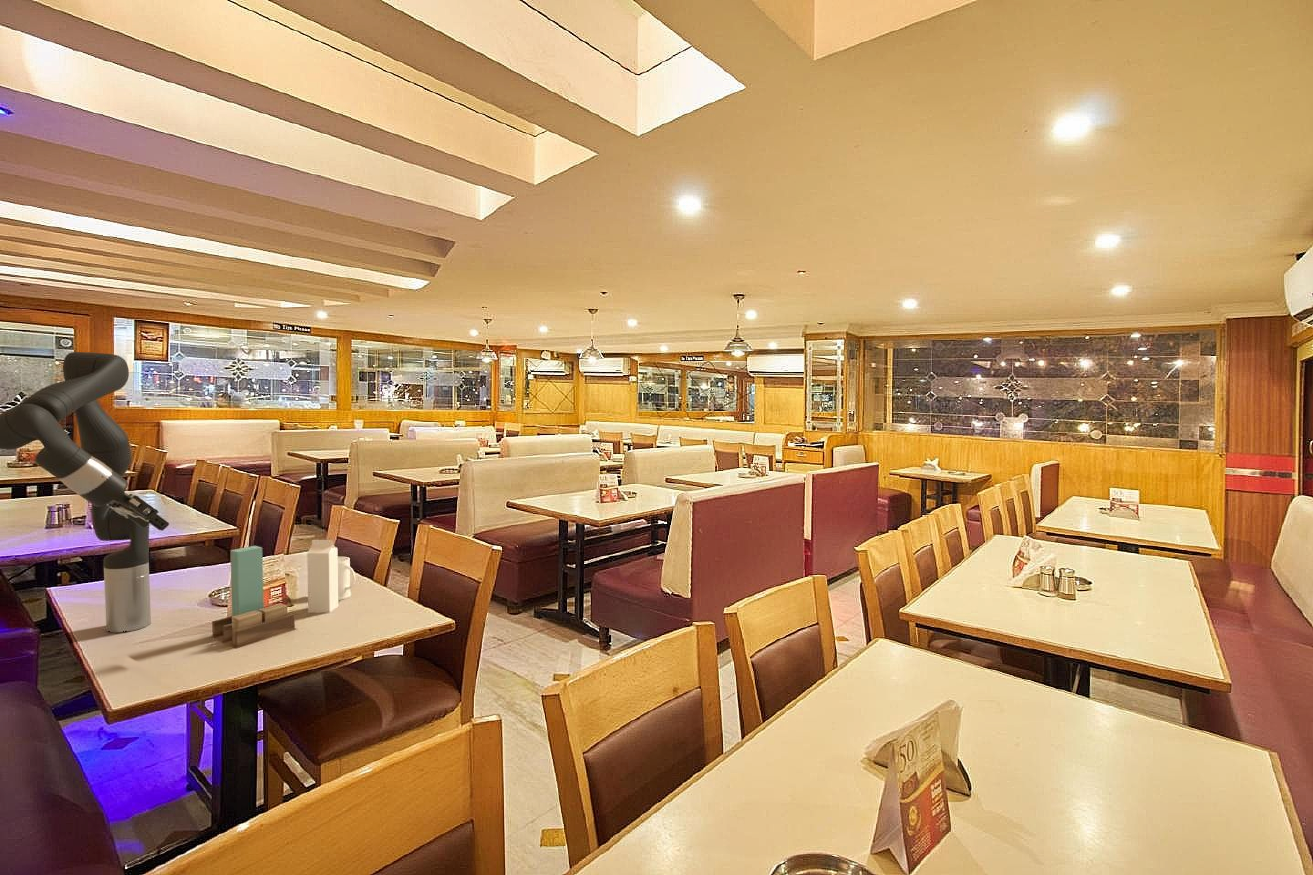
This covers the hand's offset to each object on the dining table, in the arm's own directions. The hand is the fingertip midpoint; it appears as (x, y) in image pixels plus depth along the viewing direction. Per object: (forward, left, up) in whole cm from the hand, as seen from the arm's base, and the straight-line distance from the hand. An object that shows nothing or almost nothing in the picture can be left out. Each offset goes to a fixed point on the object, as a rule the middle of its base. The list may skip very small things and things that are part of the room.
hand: (156, 525), depth 144 cm
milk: (-15, +36, -33) cm, 51 cm away
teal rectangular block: (-7, +18, -31) cm, 37 cm away
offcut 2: (-3, +23, -31) cm, 39 cm away
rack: (-4, +19, -33) cm, 38 cm away
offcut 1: (-1, +17, -31) cm, 36 cm away
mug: (-28, +42, -33) cm, 61 cm away
